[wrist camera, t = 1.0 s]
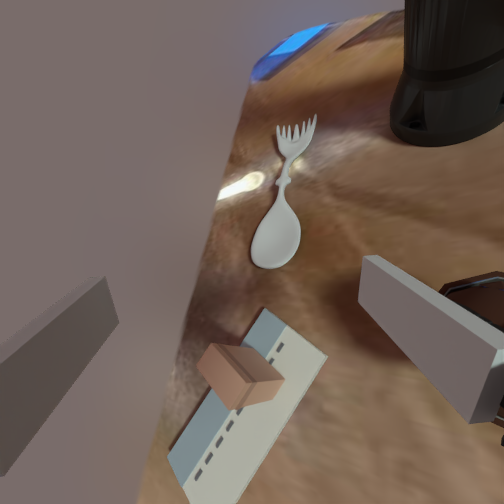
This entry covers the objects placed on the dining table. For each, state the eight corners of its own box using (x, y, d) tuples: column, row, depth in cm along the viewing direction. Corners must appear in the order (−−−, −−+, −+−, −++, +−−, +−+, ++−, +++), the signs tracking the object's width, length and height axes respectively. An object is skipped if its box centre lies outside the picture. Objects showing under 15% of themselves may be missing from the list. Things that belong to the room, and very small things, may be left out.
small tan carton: (254, 347, 34) (210, 342, 26) (286, 379, 30) (247, 383, 22) (242, 366, 34) (195, 366, 26) (272, 400, 30) (228, 411, 22)
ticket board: (267, 309, 37) (264, 307, 36) (328, 356, 30) (326, 356, 29) (172, 453, 35) (166, 456, 34) (214, 538, 28) (208, 544, 27)
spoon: (321, 124, 47) (317, 110, 45) (298, 274, 37) (290, 267, 34) (281, 136, 52) (275, 123, 49) (250, 271, 42) (240, 264, 39)
